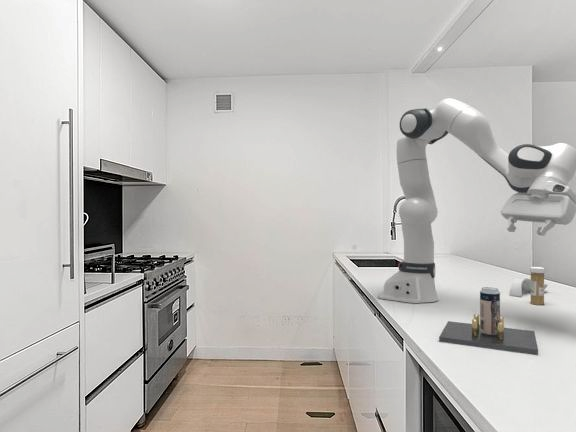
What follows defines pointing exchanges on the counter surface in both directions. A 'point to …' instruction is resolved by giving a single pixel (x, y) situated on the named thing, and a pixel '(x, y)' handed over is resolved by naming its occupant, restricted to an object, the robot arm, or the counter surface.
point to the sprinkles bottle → (537, 285)
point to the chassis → (490, 337)
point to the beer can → (489, 310)
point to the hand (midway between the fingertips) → (524, 232)
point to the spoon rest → (521, 286)
